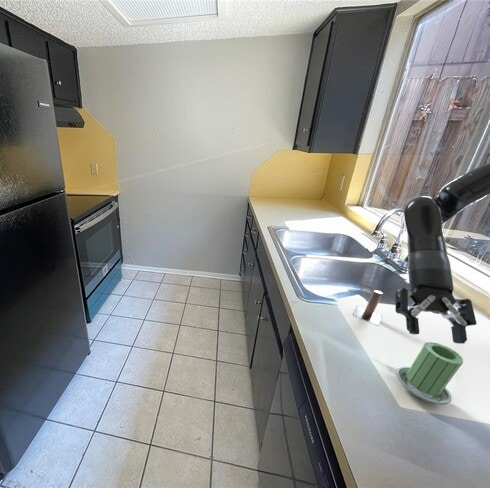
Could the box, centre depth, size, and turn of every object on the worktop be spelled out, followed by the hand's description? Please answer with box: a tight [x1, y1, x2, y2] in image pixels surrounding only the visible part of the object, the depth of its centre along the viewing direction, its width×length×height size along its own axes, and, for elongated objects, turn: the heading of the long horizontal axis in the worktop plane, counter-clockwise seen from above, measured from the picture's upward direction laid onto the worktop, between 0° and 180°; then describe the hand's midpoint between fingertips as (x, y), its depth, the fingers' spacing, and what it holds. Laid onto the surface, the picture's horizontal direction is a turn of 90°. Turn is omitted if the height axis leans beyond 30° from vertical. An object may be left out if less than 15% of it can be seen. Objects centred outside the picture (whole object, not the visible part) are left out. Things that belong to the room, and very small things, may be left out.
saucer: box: [395, 366, 452, 405], centre depth 61 cm, size 10×10×2 cm
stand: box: [352, 289, 383, 327], centre depth 83 cm, size 7×7×11 cm
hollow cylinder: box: [406, 341, 464, 396], centre depth 59 cm, size 6×6×10 cm
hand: (436, 338), depth 59 cm, fingers open, 8 cm apart
